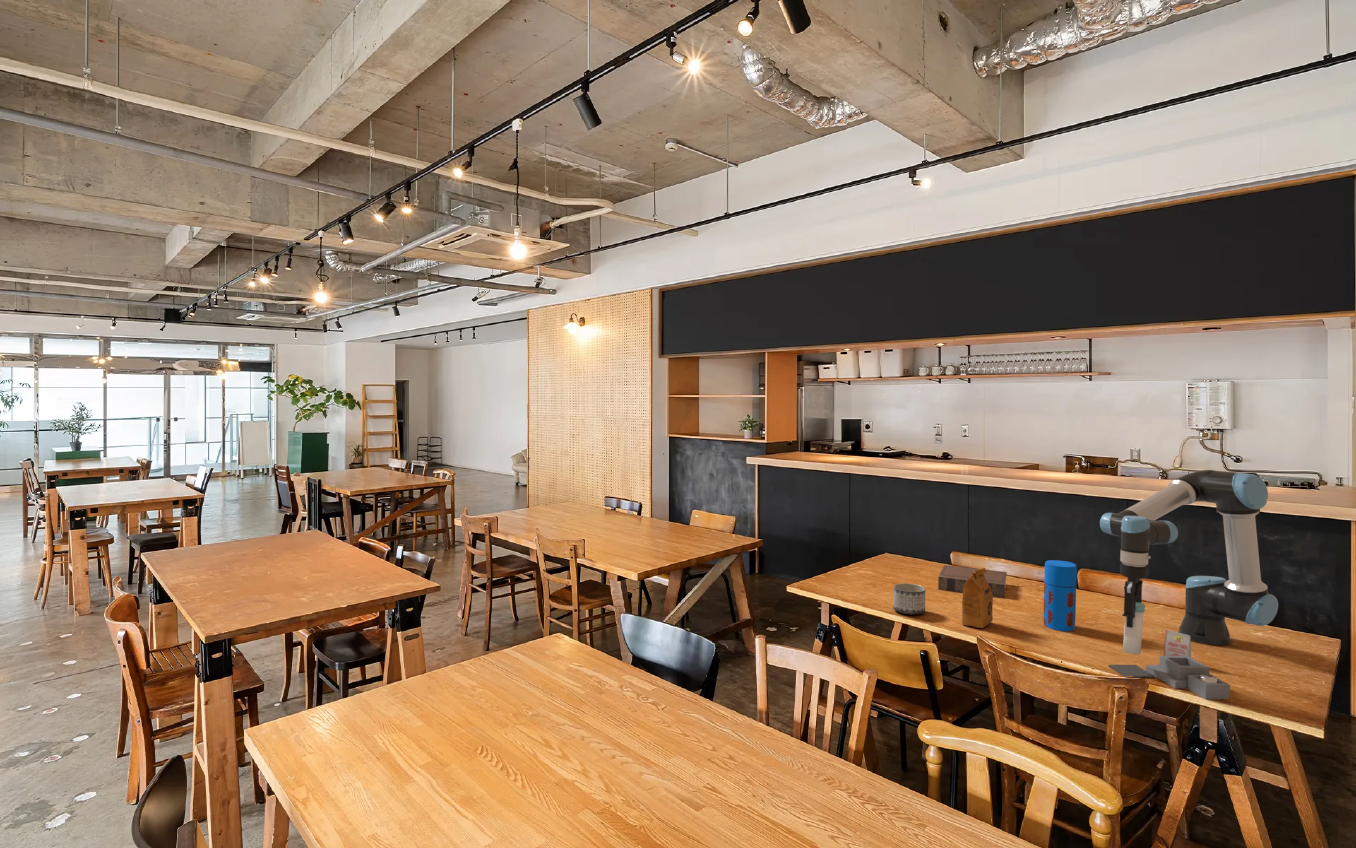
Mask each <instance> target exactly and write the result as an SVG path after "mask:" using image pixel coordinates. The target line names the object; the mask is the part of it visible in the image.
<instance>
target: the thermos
mask: <svg viewBox="0 0 1356 848" xmlns="http://www.w3.org/2000/svg"><path fill="white" fill-rule="evenodd" d="M1077 570H1078V568H1077V564H1076V563H1074V562H1070V561H1066V560H1065V561H1064V560H1058V559H1056V560H1055V559H1052V560H1051V559H1050V560H1046V561H1045V563H1044V578H1043V579H1044V582H1043V583H1044V584H1043V589H1044V590H1043V625H1044V626H1045V627H1046V628H1048V629H1051V630H1055V631H1061V632H1072V631H1074V630H1075V627H1076V617H1077V616H1076V615H1077V614H1076V611H1077V610H1076V609H1077V608H1076V607H1077Z"/></svg>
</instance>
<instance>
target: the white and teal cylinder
mask: <svg viewBox="0 0 1356 848" xmlns="http://www.w3.org/2000/svg"><path fill="white" fill-rule="evenodd" d="M1145 609H1146V605H1145V604H1144V603H1142V602H1141V603H1140V602H1136V607H1135V618H1136V628H1135V638H1132V637H1128V636H1125V626H1124V628H1123V629H1124V630H1123V642H1122V651H1123V652H1124V653H1127V654H1131V655H1141V653H1142V652H1141V650H1142V638H1143V627H1144V626H1143V625H1144V615H1145V614H1144V613H1145V612H1146V611H1145Z"/></svg>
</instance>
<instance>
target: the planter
mask: <svg viewBox="0 0 1356 848" xmlns="http://www.w3.org/2000/svg"><path fill="white" fill-rule="evenodd" d="M892 594H893V596H892V597H893V600H892V601H893V603H892V605H893V610H894V611H895V612H898V613H900V614H904V615H906V614H909V615H908V616H915V615H916V614H917V615H921V614H924V613H926V588H925V586H922V585H920V584H915V583H907V582H905V583H904V582H903V583H897V584H894V585H893V593H892ZM917 615H916V616H917Z"/></svg>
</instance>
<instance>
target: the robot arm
mask: <svg viewBox="0 0 1356 848" xmlns="http://www.w3.org/2000/svg"><path fill="white" fill-rule="evenodd" d="M1268 491H1269V490H1268V487H1267V485H1266V482H1265V481H1264V480H1263V479H1262V478H1261V477H1259V475H1256V474H1251V473H1246V472H1237V471H1235V472H1234V471H1225V470H1224V471H1223V470H1214V469H1202V470H1196V471H1193V472H1189V473H1187V474H1184V475H1182V476H1179V477H1177V478H1175V479H1173V480H1172V481H1170V482H1169V483H1168V485H1167V487H1165V488H1163V489H1161V490H1159V491H1157V492H1156V493H1154V494H1152V495H1149V496H1147V497H1146V498H1145V499H1143V500H1140V501H1139V502H1137V503H1135V504H1134V505H1132V506H1129V507H1128V508H1125V509H1124V510H1122V511H1120V512H1118V513H1116V512H1105V513H1104V514H1102V516H1101V518H1100V520H1099V526H1100V529H1101V531H1102V532H1103V533H1105V534H1109V535H1112V536H1114V537H1115V536H1116V537H1120V539H1121V541H1120V545H1121V546H1120V555H1119V556H1120V557H1119V561H1120V562H1121V563H1120V565H1119V574H1120V575H1121V576H1124V577H1126V579H1127V580H1125V581H1124V582H1125V583H1124V587H1123V590H1124V591H1123V592H1124V597H1123V598H1124V600H1123V613H1122V617H1124V627H1125V636H1128V637H1132V638H1135V628H1136V618H1135V607H1136V602H1140V603H1142V596H1143V583H1144V581H1143V580H1142V579H1146V578H1148V577H1149V567H1148V565H1149V560H1150V559H1151V558H1152V556H1151V555H1149V551H1150V550H1149V549H1150V546H1153V545H1154V546H1155V545H1167V544H1171V543H1173V542H1175V541H1176V540H1177V538H1178V537H1179V530H1178V527H1177V526H1176V525H1175V524H1174V523H1173V522H1172V521H1169V520H1162V519H1159V518H1161V517H1163V516H1165V515H1167V514H1168V513H1170V512H1172V511H1174V510H1176V509H1177V508H1179V507H1182V506H1187V505H1188V506H1189V505H1192V504H1193V503H1197V502H1204V503H1212V504H1215V507H1216V513H1219V514H1220V515H1222V519H1223V520H1222V521H1223V522H1222V523H1223V532H1224V540H1225V541H1224V542H1225V553H1226V561H1227V571H1228V580H1227V579H1226V578H1224V577H1221V576H1214V575H1213V576H1211V575H1193V576H1189V577H1188V578H1186V580H1185V581H1186V582H1185V583H1186V584H1185V587H1184V588H1185V599H1184V600H1185V602H1184V603H1185V607H1184V617H1183V618H1182V621H1181V623H1180V625H1179V626H1178V633H1182V634H1186V635H1190V638H1191V642H1195V643H1200V644H1203V645H1204V644H1205V645H1212V646H1228V645H1230V644H1231V635H1230V632H1229V629H1228V626H1227V622H1226V618H1228V619H1231V620H1232V619H1233V620H1235V621H1239V622H1242V623H1246V624H1247V625H1254V626H1257V627H1264V626H1266V625H1269V624H1270V623H1271V622H1273V620H1274V619H1275V617H1276V616H1277V613H1278V609H1279V601H1278V598H1277V597H1276V596H1275V595H1273V594H1272V593H1269V590H1268V589H1269V588H1268V585H1267V584H1266V583H1264V582H1263V581H1262V576H1261V567H1260V565H1261V564H1260V555H1259V544H1258V534H1257V521H1256V516H1257V515H1258V514H1260V512H1261V509H1263V508H1264V507H1265V506H1266V504H1267V503H1268V501H1267V500H1268V499H1269V492H1268ZM1158 519H1159V520H1158Z"/></svg>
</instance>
